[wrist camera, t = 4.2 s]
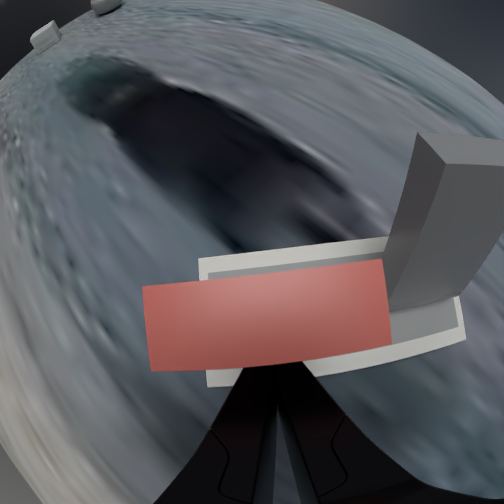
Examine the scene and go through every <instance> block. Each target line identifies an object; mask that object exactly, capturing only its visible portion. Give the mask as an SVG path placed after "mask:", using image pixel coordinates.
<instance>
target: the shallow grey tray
mask: <svg viewBox="0 0 504 504" xmlns="http://www.w3.org/2000/svg"><path fill="white" fill-rule="evenodd" d="M388 238H389V236H385V237H377V238H368V239H360V240H352V241H343V242H335V243H326V244H318V245H309V246H301V247H292V248H284V249H275V250H267V251H258V252H250V253H241V254H233V255H224V256H216V257H207V258H199V281H202V280H211V279H220V278H230V277H239V276H247V275H256V274H265V273H273V272H282V271H290V270H298V269H306V268H314V267H322V266H330V265H337V264H345V263H352V262H360V261H367V260H374V259H381V258H382V255H383V252H384V249H385V247H386V244H387V241H388ZM389 315H390V325H391V337H392V344H391V345H387V346H382V347H378V348H373V349H368V350H363V351H358V352H353V353H348V354H342V355H337V356H331V357H325V358H319V359H312V360H305V361H303V363H304V364H305V365H306V366H307V368H308V369H309V370H310V371H311V372H312V374H313V375H314V376H315V377H317V376H324V375H329V374H335V373H341V372H346V371H351V370H356V369H361V368H366V367H370V366H375V365H379V364H384V363H388V362H392V361H396V360H400V359H404V358H407V357H411V356H415V355H418V354H422V353H425V352H429V351H432V350H435V349H439V348H442V347H445V346H448V345H451V344H454V343H457V342H460V341H463V340H466V336H465V329H464V322H463V316H462V310H461V305H460V300H459V296H457V297H453V298H449V299H445V300H441V301H437V302H433V303H429V304H424V305H420V306H415V307H411V308H406V309H401V310H396V311H392V312H389ZM242 369H243V368H231V369H215V370H206V378H207V387H223V386H234V384H235V382H236V380H237V378H238V376H239V374H240V373H241V371H242Z"/></svg>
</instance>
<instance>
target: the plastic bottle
mask: <svg viewBox="0 0 504 504" xmlns="http://www.w3.org/2000/svg"><path fill="white" fill-rule="evenodd" d="M121 3H122V0H91V5H92V9H93V10H94V12H95V13H97V14H99V15H100V14H104V13H107V12H109V11H112V10H113V9H115V8H116V7H118V6H119V5H120V4H121Z"/></svg>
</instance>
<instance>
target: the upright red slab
mask: <svg viewBox="0 0 504 504" xmlns="http://www.w3.org/2000/svg"><path fill="white" fill-rule="evenodd" d="M142 289H143V303H144V315H145V325H146V335H147V344H148V352H149V359H150V367H151V371H194V370H215V369H231V368H244V367H255V366H265V365H274V364H283V363H291V362H298V361H305V360H312V359H319V358H325V357H331V356H337V355H342V354H348V353H353V352H358V351H363V350H368V349H373V348H378V347H382V346H387V345H391V344H392V337H391V325H390V315H389V306H388V298H387V290H386V282H385V275H384V269H383V262H382V258H381V259H374V260H367V261H360V262H352V263H345V264H337V265H330V266H322V267H314V268H306V269H298V270H290V271H282V272H273V273H265V274H256V275H247V276H239V277H230V278H220V279H211V280H202V281H192V282H182V283H172V284H162V285H151V286H142Z"/></svg>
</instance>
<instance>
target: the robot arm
mask: <svg viewBox="0 0 504 504" xmlns="http://www.w3.org/2000/svg"><path fill="white" fill-rule="evenodd" d="M276 397H277V398H276ZM277 406H278V412H279V417H280V421H281V425H282V429H283V433H284V437H285V441H286V445H287V449H288V453H289V457H290V461H291V465H292V469H293V473H294V477H295V481H296V485H297V489H298V493H299V496H300V500H301V504H504V498H503V499H488V498H482V497H477V496H471V495H467V494H462V493H457V492H453V491H449V490H445V489H441V488H437V487H434V486H431V485H428V484H426V483H424V482H422V481H420V480H418V479H417V478H415V477H414V476H413V475H411V474H410V473H409V472H407V471H406V470H405V469H404V468H402V467H401V466H400V465H399V464H398V463H396V462H395V461H394V460H393V459H392V458H390V457H389V456H388V455H387V454H386V453H384V452H383V451H382V450H381V449H380V448H378V447H377V446H376V445H375V444H374V443H373V442H372V441H371V440H370V439H369V438H368V437H366V435H365V434H364V433H363V432H362V431H361V430H360V429H359V428H358V427H357V426H356V425H355V424H354V422H353V421H352V420H351V419H350V418H349V417H348V415H345V414H346V413H345V412H344V411H343V410H342V408H341V407H340V406H339V405H338V404H337V403H336V401H335V400H334V399H333V398H332V397H331V395H330V394H329V393H328V392H327V391H326V389H325V388H324V387H323V386H322V385H321V383H320V382H319V381H318V380H317V379H316V377H315V376H314V375H313V374H312V372H311V371H310V370H309V369H308V368H307V366H306V365H305V364H304V363H303V361H298V362H291V363H283V364H274V365H265V366H255V367H244V368H243V369H242V371H241V373H240V374H239V376H238V378H237V380H236V382H235V384H234V386H233V387H232V389H231V391H230V393H229V395H228V397H227V398H226V400H225V402H224V404H223V406H222V407H221V409H220V411H219V413H218V415H217V416H216V418H215V420H214V422H213V423H212V425H211V427H210V429H211V430H208V432H207V434H206V435H205V437H204V439H203V441H202V442H201V444H200V445H199V447H198V449H197V450H196V452H195V453H194V455H193V456H192V457H191V459H190V460H189V461H188V463H187V464H186V465H185V467H184V468H183V469H182V471H181V472H180V473H179V474H178V475H177V477H176V478H175V479H174V480H173V481H172V483H171V484H170V485H169V486H168V487H167V488H166V490H165V491H164V492H163V493H162V494H161V495H160V497H159V498H158V499H157V500H156V501H155V502H154V503H153V504H272V500H273V486H274V471H275V454H276V436H277Z"/></svg>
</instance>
